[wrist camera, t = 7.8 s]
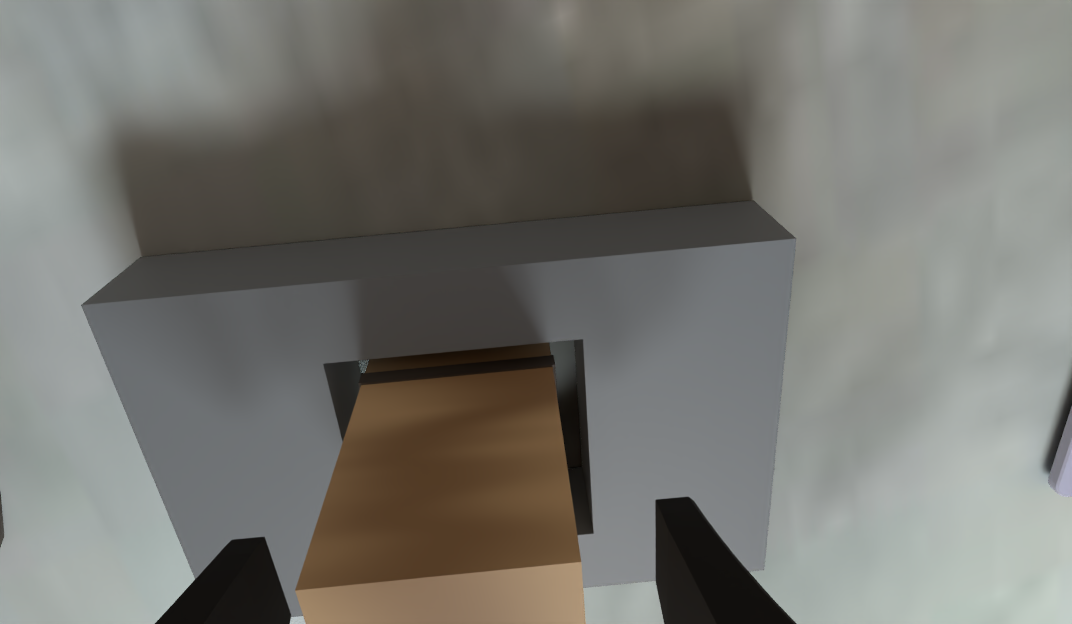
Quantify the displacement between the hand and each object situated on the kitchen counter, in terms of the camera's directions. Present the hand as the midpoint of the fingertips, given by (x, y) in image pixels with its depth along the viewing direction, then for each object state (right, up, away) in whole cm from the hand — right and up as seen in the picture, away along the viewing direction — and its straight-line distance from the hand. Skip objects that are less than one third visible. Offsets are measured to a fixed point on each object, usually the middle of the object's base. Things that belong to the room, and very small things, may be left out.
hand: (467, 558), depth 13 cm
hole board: (0, +2, +5) cm, 6 cm away
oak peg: (0, +3, +5) cm, 6 cm away
